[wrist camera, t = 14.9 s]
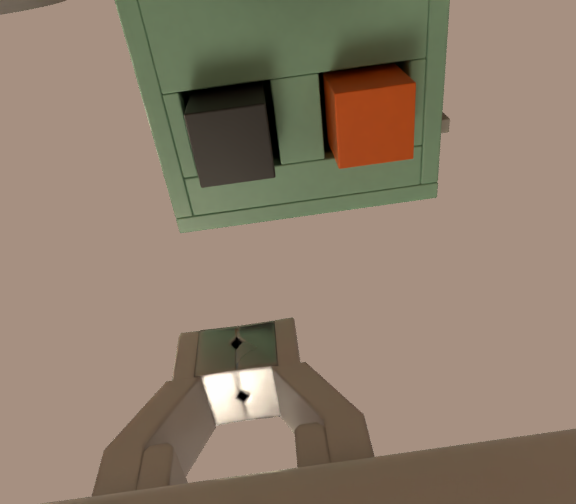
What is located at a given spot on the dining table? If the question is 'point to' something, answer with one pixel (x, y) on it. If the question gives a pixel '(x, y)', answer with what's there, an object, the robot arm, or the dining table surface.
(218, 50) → the green box
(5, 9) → the food container
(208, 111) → the timer button
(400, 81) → the button
